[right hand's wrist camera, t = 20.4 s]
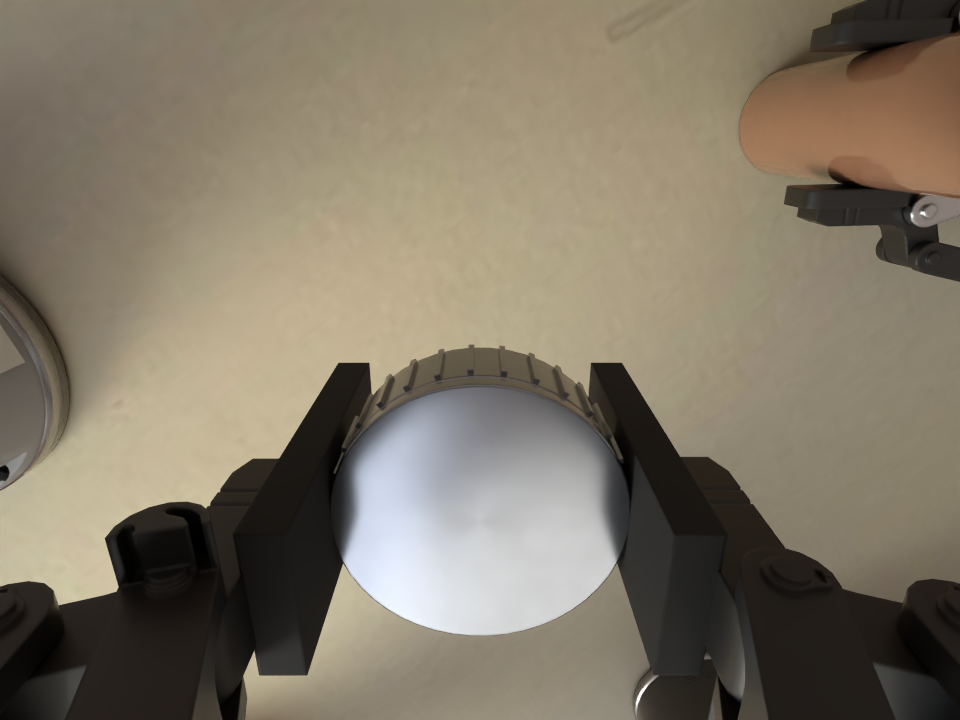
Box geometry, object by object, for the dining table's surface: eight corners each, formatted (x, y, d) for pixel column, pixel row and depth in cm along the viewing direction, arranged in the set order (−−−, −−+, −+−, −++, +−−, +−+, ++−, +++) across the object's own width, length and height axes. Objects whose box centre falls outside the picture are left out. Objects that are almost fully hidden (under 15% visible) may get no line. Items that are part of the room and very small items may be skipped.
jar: (747, 188, 29) (1103, 260, 12) (730, 88, 27) (1116, 18, 11) (845, 155, 28) (1354, 184, 12) (833, 50, 27) (1408, -84, 10)
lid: (617, 334, 11) (642, 371, 9) (610, 568, 13) (629, 633, 11) (327, 350, 11) (299, 389, 10) (365, 580, 13) (348, 645, 12)
